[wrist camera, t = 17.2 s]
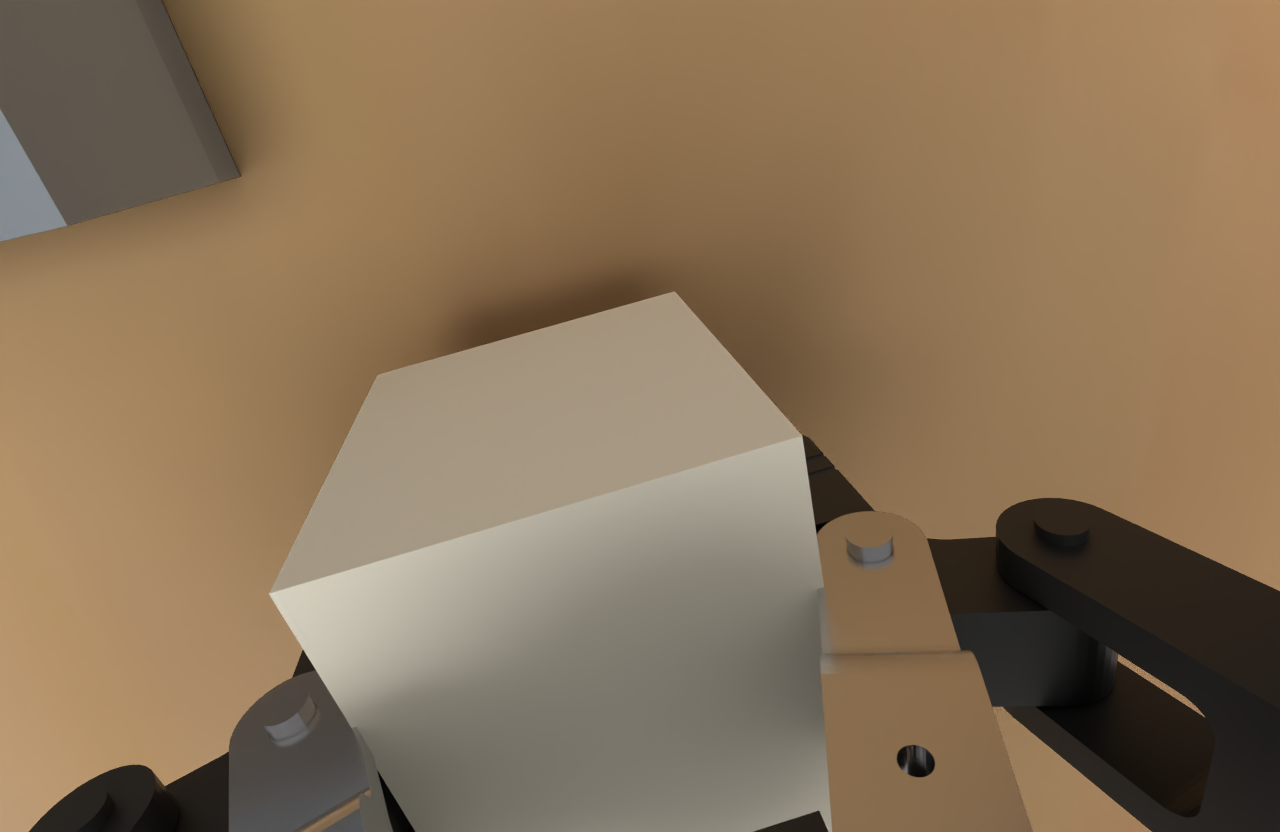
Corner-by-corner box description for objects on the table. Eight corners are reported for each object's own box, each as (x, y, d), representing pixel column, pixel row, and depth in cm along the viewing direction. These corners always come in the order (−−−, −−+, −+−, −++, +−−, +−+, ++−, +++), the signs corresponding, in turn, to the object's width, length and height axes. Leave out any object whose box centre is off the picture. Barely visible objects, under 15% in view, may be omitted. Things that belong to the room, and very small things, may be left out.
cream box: (735, 571, 14) (859, 828, 9) (497, 644, 14) (488, 951, 9) (674, 291, 11) (802, 435, 6) (377, 374, 11) (269, 592, 6)
